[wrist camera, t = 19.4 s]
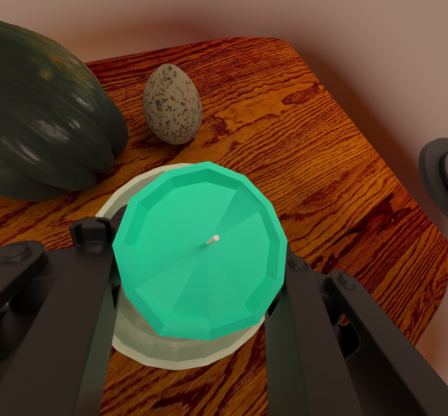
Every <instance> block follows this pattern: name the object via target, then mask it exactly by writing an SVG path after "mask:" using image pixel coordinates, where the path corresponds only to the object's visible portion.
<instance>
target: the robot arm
mask: <svg viewBox="0 0 448 416" xmlns="http://www.w3.org/2000/svg"><path fill="white" fill-rule="evenodd" d="M439 170H440V175H441V178H442V181H443V183H444V185H445V187H446V189H447V190H448V152H446V153H445V154H443V156H442V157H441V159H440V163H439ZM127 206H128V204H126V205H124V206H122V207H120V209H119V210H118V211H117V212H116V214H114V215H113V217H112V218H111V219H108V218H106V217H89V218H85V219H82V220H79V221H77V222H75V223H73V224H72V225H71V226H70V227H69V229H70V233H71V237H72V241H73V245H74V247H73V248H67V249H58V250H49V251H46V249H45V246H44V245H43V244H42V243H41V242H37V241H20V242H15V243H11V244H8V245H5V246H2V247H0V383H1V384H0V416H99V415H100V409H101V404H102V398H103V392H104V386H105V381H106V375H107V369H108V363H109V358H110V352H111V346H112V340H113V335H114V329H115V323H116V317H117V312H118V306H119V300H120V294H121V277H120V273H119V270H118V266H117V262H116V258H115V254H114V250H113V246H112V245H113V242H114V239H115V237H116V234H117V232H118V229H119V226H120V224H121V221H122V219H123V216H124V213H125V211H126V208H127ZM344 315H345V316H346V318H347V319H348V321H349V323H348V324H347V325H346V326H345V325H343V323H342V322H341V321H340V319H341V318H342V317H343V316H344ZM265 339H266V367H267V394H268V416H448V386H447V385H446V383H444V381H443V380H442V379H441V378H440V377H439V375H438V374H437V373H436V372H435V371H434V369H433V368H432V367H431V366H430V365H429V364H428V362H427V361H426V360H425V359H424V358H423V357H422V355H421V354H420V353H419V352H418V351H417V349H416V348H415V347H414V346H413V345H412V344H411V342H410V341H409V340H408V339H407V338H406V337H405V335H404V334H403V333H402V332H401V331H400V329H399V328H398V327H397V326H396V325H395V324H394V322H393V321H392V320H391V319H390V318H389V317H388V315H387V314H386V313H385V312H384V311H383V310H382V308H381V307H380V306H379V305H378V304H377V302H376V301H375V300H374V299H373V298H372V297H371V295H370V294H369V293H368V292H367V291H366V290H365V288H364V287H363V286H362V285H361V284H360V283H359V282H358V281H357V280H356V279H355V278H354V277H353V276H351V275H350V274H349V273H347V272H344V271H342V270H338V269H334V270H332V271H331V272H330V273H329V274H328V276H327V275H324V274H321V273H319V272H316V271H313V270H312V268H311V267H310V265H309V264H308V263H307V262H306V261H305V260H304V259H302V258H301V257H299V256H296V255H294V253H293V252H292V250H291V248H290V247H289V245H288V243H287V250H286V261H285V272H284V283H283V285H282V287H281V289H280V290H279V292H278V293H277V295H276V296H275V298H274V300H273V301H272V303H271V304H270V306H269V308H268V309H267V311H266V312H265Z"/></svg>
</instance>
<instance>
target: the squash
mask: <svg viewBox="0 0 448 416" xmlns="http://www.w3.org/2000/svg"><path fill="white" fill-rule="evenodd" d="M127 140H128V130H127V126H126V122H125V120H124V117H123V115H122V114H121V112H120V110H119V109H118V108H117V106H116V105H115V104H114V102H113V101H112V100H111V99H110V98H109V96H108V95H107V93H106V92H105V91H104V89H103V87H102V86H101V84H100V82H99V81H98V79H97V78H96V76H95V75H94V74H93V72H92V71H91V70H90V69H89V68H88V67H87V66H86V65H85V64H84V63H83V62H82V61H81V60H79V59H78V58H77V57H76V56H75V55H74V54H72V53H71V52H70V51H69V50H67V49H66V48H65V47H63V46H62V45H60V44H59V43H57V42H56V41H54V40H52V39H50V38H48V37H46V36H43V35H41V34H38V33H36V32H33V31H31V30H28V29H25V28H22V27H19V26H16V25H12V24H9V23H5V22H2V21H0V196H2V197H6V198H11V199H16V200H24V201H46V200H51V199H55V198H58V197H60V196H62V195H64V194H66V193H68V192H69V191H71V190H72V191H78V190H89V189H92V188H94V186H95V185H96V182H97V176H96V173H106V172H109V171H110V170H111V169H112V168H113V167H114V163H115V162H114V158H113V157H114V156H116V155H117V154H119V153H120V152H121V151H123V150H124V148H125V146H126V144H127Z"/></svg>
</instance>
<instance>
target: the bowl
mask: <svg viewBox="0 0 448 416" xmlns="http://www.w3.org/2000/svg"><path fill="white" fill-rule="evenodd" d="M189 165H194V164H188V163H180V164H174V165H168V166H162V167H158V168H156V169H153V170H151V171H148V172H146V173H144V174H141V175H139V176H137V177H135V178H133V179H132V180H131V181H129V182H128V183H127V184H125V185H124V186H123V187H121V188H120V189H118V190H117V191H116V192H115V193H114V194H113V195H112V196H111V197H110V199H109V200H108V201H107V202H106V203H105V205H104V206H103V207H102V208H101V209H100V211H99V212H98V214H97V215H96V217H106V218H108V219H111V218H112V217H113V215H114V214H116V212H117V211H118V210H119V209H120V207H122V206H124V205H126V204H128V203H129V200H130V198H131V197H133V196H134V195H135V194H137V193H138V192H139V191H141V190H142V189H143V188H145V187H146V186H147V185H149V184H150V183H151V182H152V181H154V180H155V179H156V178H158V177H159V176H160V175H162V174H163V173H164V172H166V171H168V170H172V169H177V168H181V167H185V166H189ZM264 320H265V314H264V315H263V317H262V319H261V320H260V322H259V323H258V324H257V325H254V326H251V327H248V328H245V329H242V330H240V331H237V332H234V333H231V334H228V335H225V336H223V337H220V338H217V339H214V340H211V341H207V340H197V339H187V338H176V337H166V336H159V335H158V334H157V333H156V332H155V330H154V329H153V328H152V327H151V326H150V324H149V323H148V322H147V321H146V320H145V318H144V317H143V316H142V315H141V314H140V312H139V311H138V310H137V309H136V308H135V306H134V305H133V304H132V303H131V302H130V300H129V299H128V298H127V297H126V296H125V293H124V289H123V285H122V281H121V294H120V300H119V306H118V312H117V317H116V323H115V329H114V335H113V340H112V345H113V347H114V348H115V349H116V350H118V351H119V352H121V353H122V354H124V355H126V356H128V357H130V358H132V359H134V360H136V361H138V362H140V363H142V364H143V365H146V366H152V367H159V368H165V369H171V370H181V369H188V368H194V367H200V366H206V365H208V364H211V363H213V362H215V361H217V360H219V359H221V358H223V357H225V356H227V355H230V354H232V353H233V352H234V351H236V350H237V349H238V348H239V347H240V346H241V345H242V344H244V343H245V342H246V341H247V340H248V339H249V338H251V337H252V336H253V335H254V334H255V333H256V331H257V330H258V329H259V327H260V326H261V324H262V323H263V321H264Z"/></svg>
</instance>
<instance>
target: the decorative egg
mask: <svg viewBox="0 0 448 416" xmlns="http://www.w3.org/2000/svg"><path fill="white" fill-rule="evenodd" d="M143 112H144V116H145V119H146V122H147V124H148V126H149V128H150V129H151V130H152V132H153V133H154V134H155V135H156V136H157V137H158V138H159V139H161V140H162V141H164V142H166V143H169V144H174V145H179V144H184V143H186V142H188V141H190V140H191V139H192V138H193V137H194V136H195V135H196V134H197V132H198V130H199V128H200V125H201V122H202V105H201V100H200V97H199V94H198V92H197V90H196V88H195V86H194V84H193V83H192V81H191V80H190V79H189V77H188V76H187V75H186V74H185V73H184V72H183V71H182V70H181V69H180V68H178V67H176V66H175V65H172V64H165V65H162V66H160V67H159V68H157V69H156V70H155V71H154V72H153V73H152V75H151V76H150V78H149V79H148V81H147V83H146V86H145V89H144V93H143Z"/></svg>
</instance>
